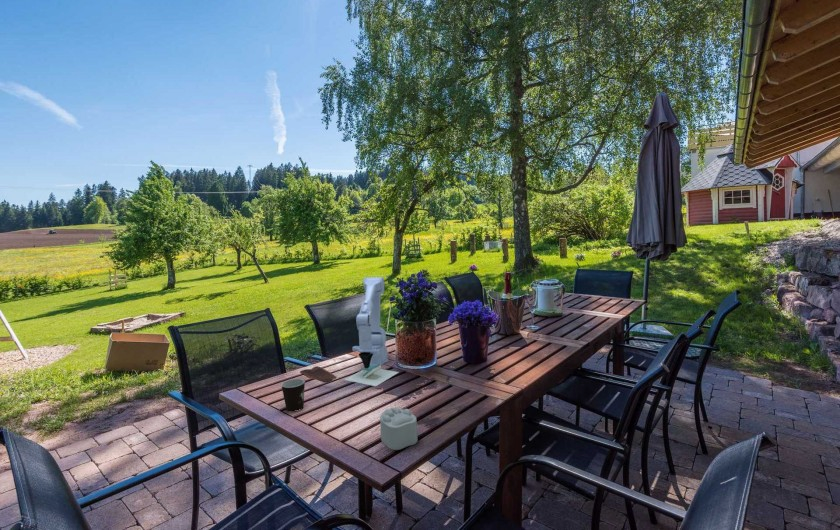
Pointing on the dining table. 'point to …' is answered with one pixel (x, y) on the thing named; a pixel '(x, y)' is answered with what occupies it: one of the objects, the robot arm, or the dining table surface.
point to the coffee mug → (293, 394)
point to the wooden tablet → (319, 374)
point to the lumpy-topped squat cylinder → (398, 428)
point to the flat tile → (369, 368)
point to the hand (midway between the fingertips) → (367, 367)
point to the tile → (372, 371)
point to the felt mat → (372, 377)
